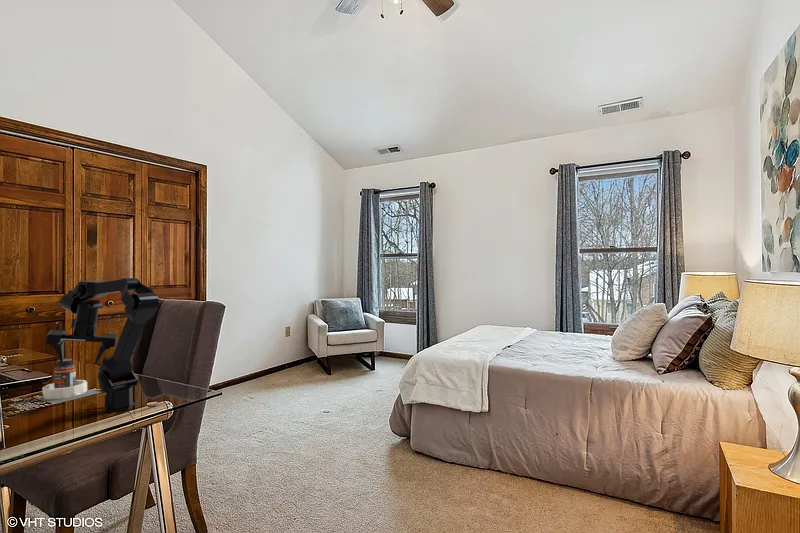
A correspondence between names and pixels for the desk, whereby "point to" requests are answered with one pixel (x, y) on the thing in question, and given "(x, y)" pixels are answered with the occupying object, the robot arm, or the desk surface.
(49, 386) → the bowl
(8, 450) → the desk surface
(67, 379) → the supplement bottle
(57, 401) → the mat
